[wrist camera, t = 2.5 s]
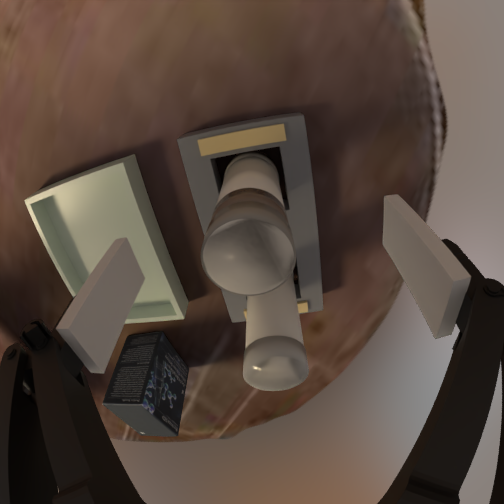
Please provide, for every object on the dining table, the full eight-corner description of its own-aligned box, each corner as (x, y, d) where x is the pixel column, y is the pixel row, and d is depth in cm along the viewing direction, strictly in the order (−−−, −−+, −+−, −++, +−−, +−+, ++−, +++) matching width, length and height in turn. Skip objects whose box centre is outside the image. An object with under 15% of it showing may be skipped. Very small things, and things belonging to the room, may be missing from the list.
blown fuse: (231, 203, 25) (214, 301, 14) (220, 155, 22) (189, 225, 12) (281, 195, 24) (300, 289, 14) (273, 146, 22) (289, 208, 12)
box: (190, 367, 37) (179, 437, 28) (155, 370, 38) (139, 435, 29) (163, 329, 33) (141, 406, 24) (125, 334, 34) (100, 404, 25)
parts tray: (188, 302, 30) (184, 318, 28) (98, 310, 32) (91, 325, 30) (134, 154, 22) (122, 162, 20) (38, 190, 23) (24, 200, 21)
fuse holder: (319, 295, 30) (323, 312, 28) (233, 307, 31) (232, 324, 29) (299, 112, 20) (304, 115, 18) (183, 134, 21) (175, 140, 19)
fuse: (251, 287, 29) (249, 393, 19) (243, 251, 27) (236, 359, 17) (294, 280, 29) (309, 386, 19) (289, 244, 27) (307, 350, 16)
